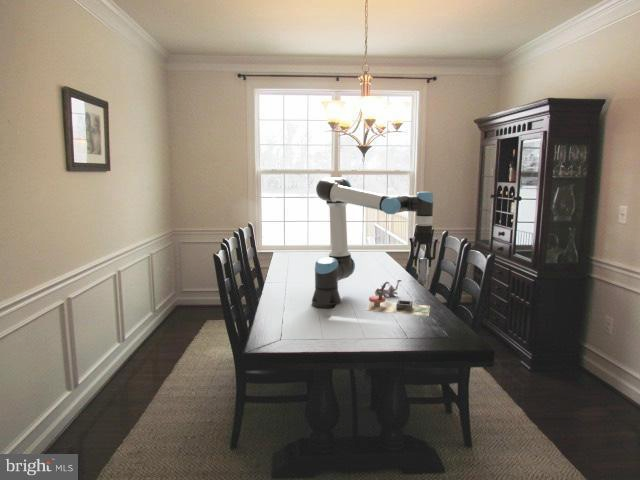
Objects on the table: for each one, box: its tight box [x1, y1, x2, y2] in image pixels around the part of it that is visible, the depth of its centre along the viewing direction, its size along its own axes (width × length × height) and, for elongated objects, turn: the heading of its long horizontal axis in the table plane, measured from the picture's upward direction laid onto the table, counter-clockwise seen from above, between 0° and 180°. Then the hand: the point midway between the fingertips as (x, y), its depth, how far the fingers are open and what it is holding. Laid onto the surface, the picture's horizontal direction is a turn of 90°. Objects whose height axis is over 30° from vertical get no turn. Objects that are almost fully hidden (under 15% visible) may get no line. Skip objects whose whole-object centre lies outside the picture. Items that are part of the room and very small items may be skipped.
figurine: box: [374, 279, 402, 297], centre depth 243 cm, size 12×9×15 cm
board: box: [365, 299, 431, 317], centre depth 223 cm, size 30×16×4 cm, turn 73°
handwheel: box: [368, 291, 386, 307], centre depth 225 cm, size 8×8×8 cm
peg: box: [417, 257, 428, 285], centre depth 216 cm, size 4×4×12 cm
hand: (422, 273), depth 217 cm, fingers closed on peg, 4 cm apart
